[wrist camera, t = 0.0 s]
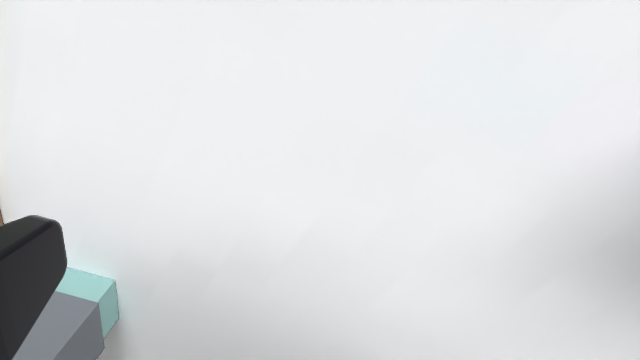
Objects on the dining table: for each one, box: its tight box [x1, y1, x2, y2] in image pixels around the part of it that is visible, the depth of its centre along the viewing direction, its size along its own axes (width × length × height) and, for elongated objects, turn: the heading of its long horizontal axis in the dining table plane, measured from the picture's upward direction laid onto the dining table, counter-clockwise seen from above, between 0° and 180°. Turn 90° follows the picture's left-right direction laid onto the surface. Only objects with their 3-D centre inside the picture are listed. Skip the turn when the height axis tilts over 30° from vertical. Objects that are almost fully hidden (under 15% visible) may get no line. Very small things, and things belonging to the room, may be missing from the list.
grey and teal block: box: [12, 267, 119, 360], centre depth 29 cm, size 4×4×7 cm
